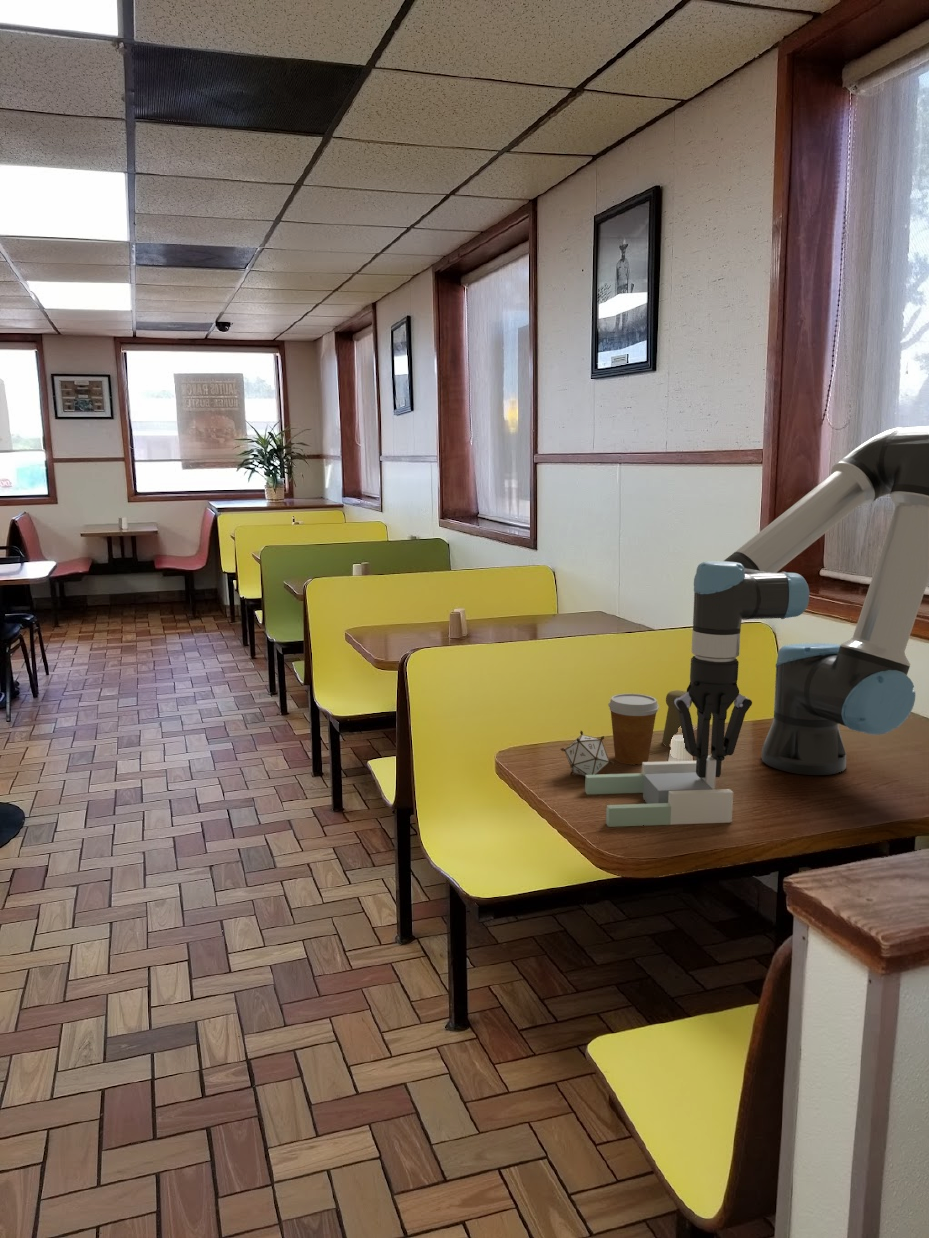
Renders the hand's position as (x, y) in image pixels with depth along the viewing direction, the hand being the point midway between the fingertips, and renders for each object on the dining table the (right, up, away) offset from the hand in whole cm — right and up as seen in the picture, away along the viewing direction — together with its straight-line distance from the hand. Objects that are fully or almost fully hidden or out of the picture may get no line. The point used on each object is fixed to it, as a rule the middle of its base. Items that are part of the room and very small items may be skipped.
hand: (706, 795), depth 155 cm
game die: (-18, +1, +14) cm, 23 cm away
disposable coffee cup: (-8, +2, +24) cm, 25 cm away
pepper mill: (+3, +4, +34) cm, 34 cm away
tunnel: (-9, -2, -1) cm, 9 cm away
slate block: (-5, -2, 0) cm, 6 cm away
